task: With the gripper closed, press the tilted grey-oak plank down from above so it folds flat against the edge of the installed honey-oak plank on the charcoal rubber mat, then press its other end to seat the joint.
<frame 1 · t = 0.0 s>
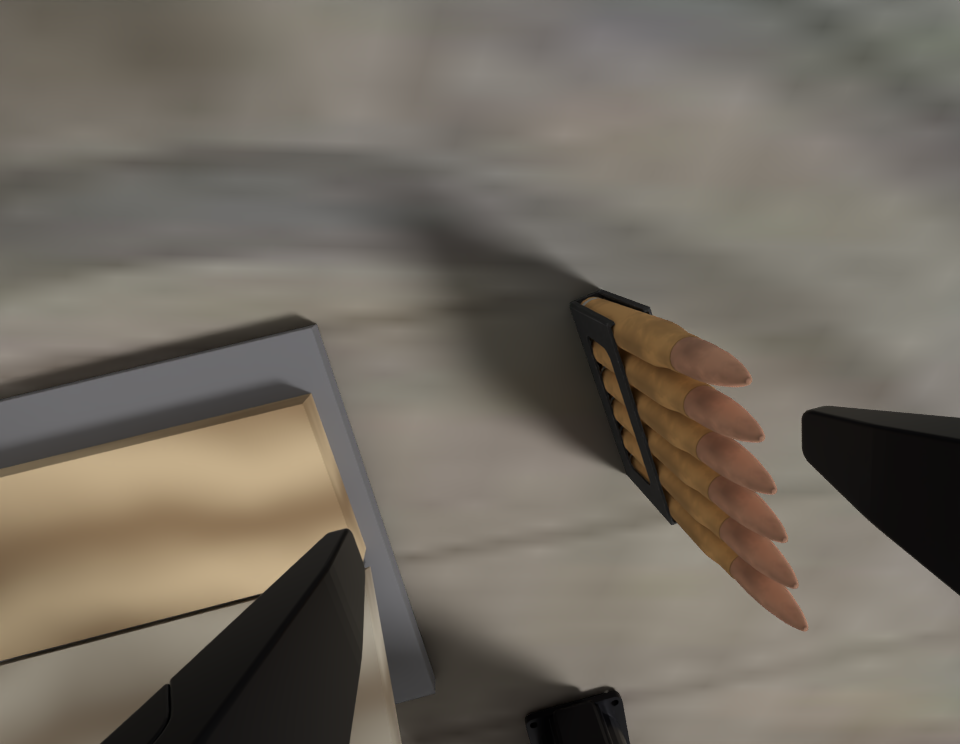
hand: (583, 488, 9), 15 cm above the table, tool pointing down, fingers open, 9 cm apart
ammunition clip: (614, 387, 24), on the table
underlay mat: (186, 575, 25), on the table
loose plank: (182, 717, 22), point 4 cm above the table, hinge at 30.0°
installed plank: (142, 524, 22), resting on underlay mat
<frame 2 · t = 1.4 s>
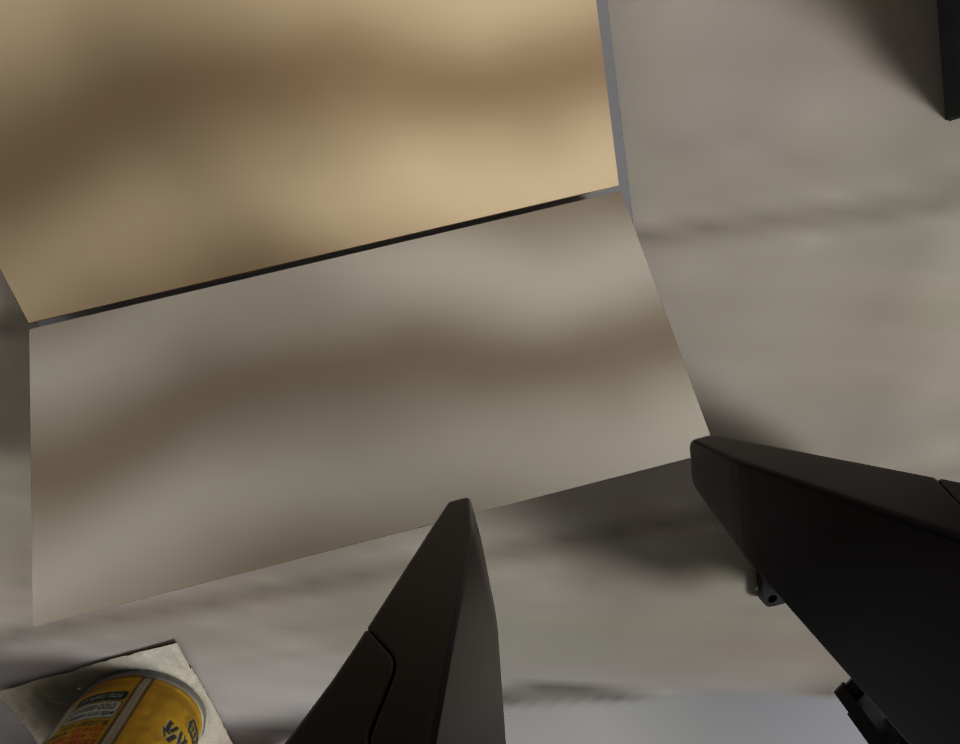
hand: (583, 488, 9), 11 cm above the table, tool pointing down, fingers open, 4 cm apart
condiment: (127, 712, 23), on the table
underlay mat: (340, 238, 17), on the table
loose plank: (362, 391, 15), point 4 cm above the table, hinge at 30.0°
installed plank: (298, 116, 15), resting on underlay mat
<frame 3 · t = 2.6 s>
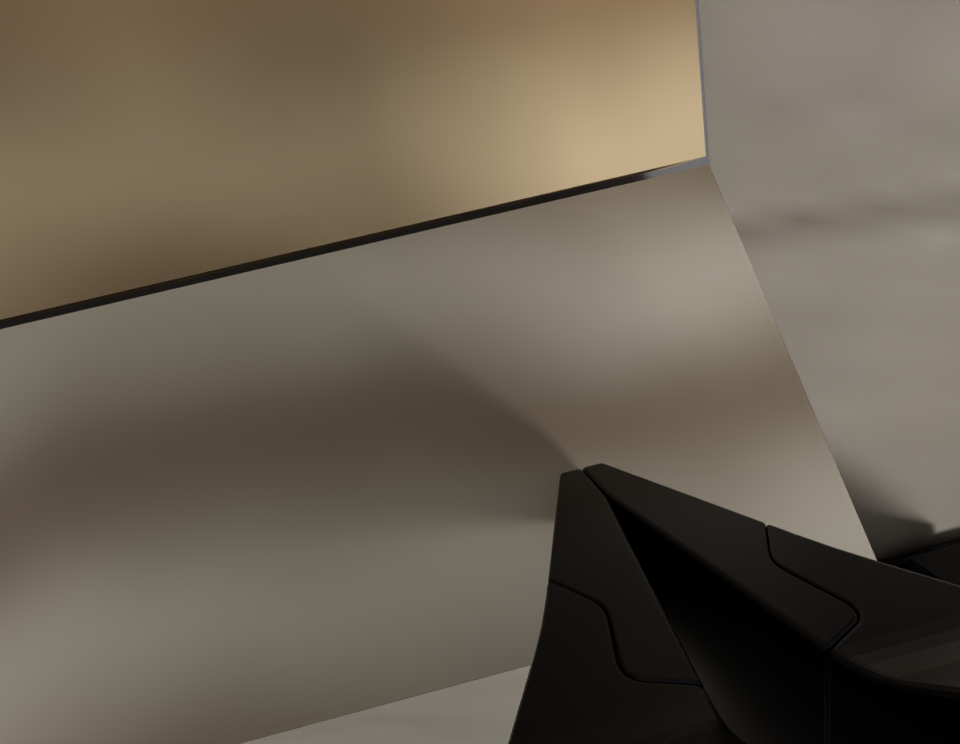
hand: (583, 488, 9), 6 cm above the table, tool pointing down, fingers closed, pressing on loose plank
underlay mat: (304, 234, 12), on the table
loose plank: (327, 463, 10), point 4 cm above the table, hinge at 30.0°, touching gripper
installed plank: (234, 53, 10), resting on underlay mat
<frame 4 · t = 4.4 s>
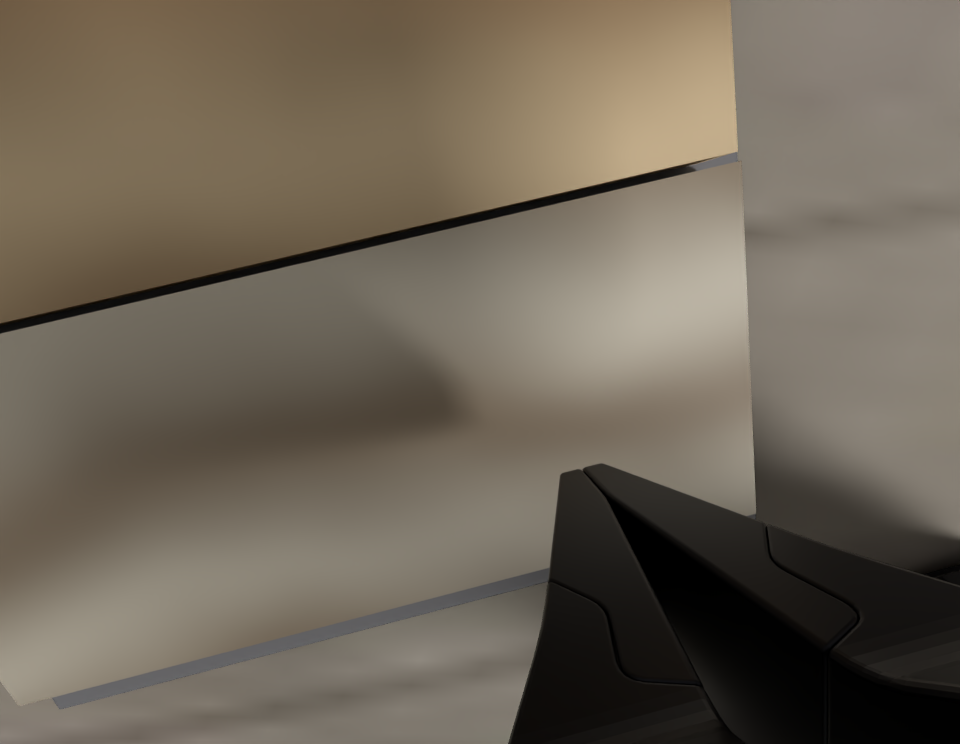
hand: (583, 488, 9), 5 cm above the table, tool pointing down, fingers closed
underlay mat: (302, 236, 12), on the table
loose plank: (351, 445, 11), point 2 cm above the table, hinge at -0.7°, touching underlay mat
installed plank: (226, 40, 9), resting on underlay mat
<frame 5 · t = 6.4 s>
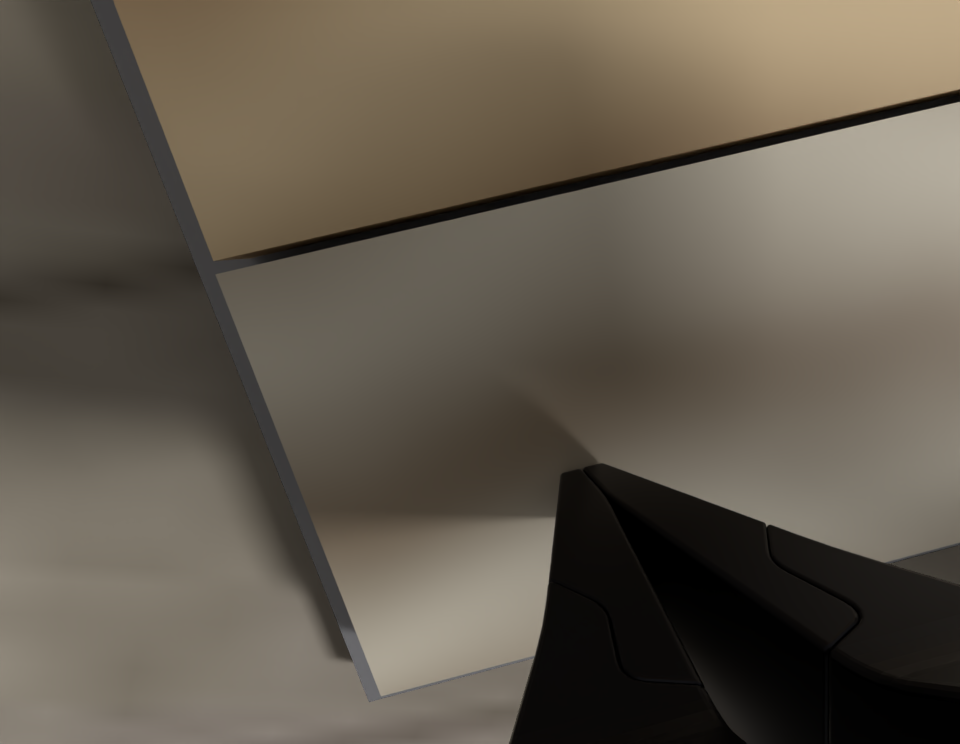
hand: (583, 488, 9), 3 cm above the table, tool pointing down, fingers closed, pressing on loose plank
underlay mat: (729, 124, 10), on the table
loose plank: (799, 377, 9), point 2 cm above the table, hinge at -0.7°, touching gripper, underlay mat
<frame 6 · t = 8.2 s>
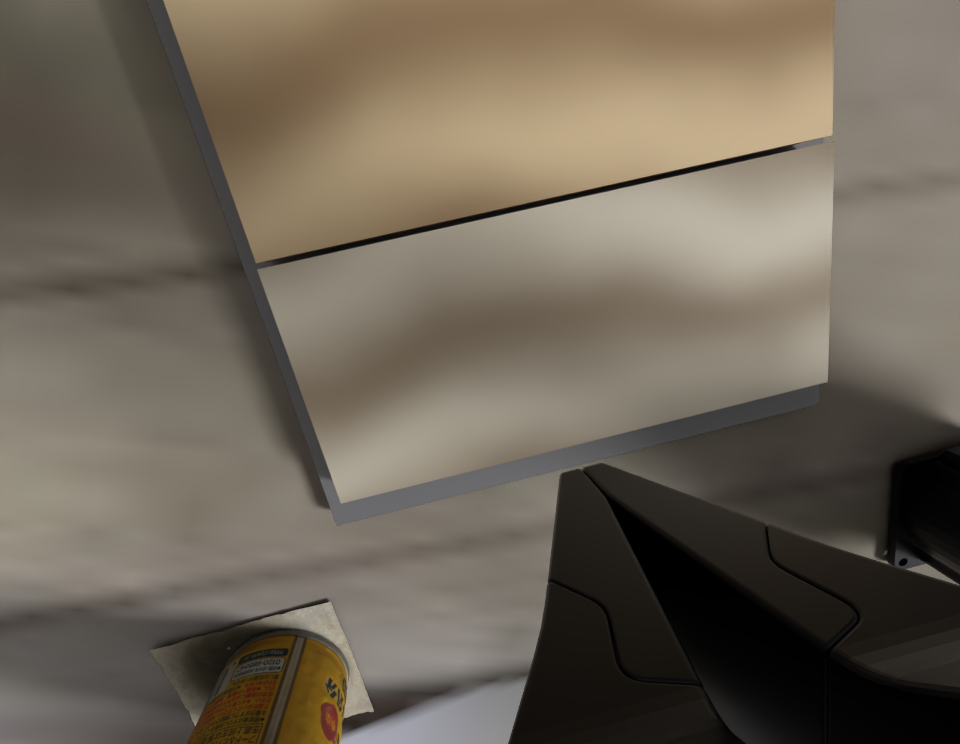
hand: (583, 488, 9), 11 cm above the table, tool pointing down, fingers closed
condiment: (271, 673, 23), on the table
underlay mat: (533, 189, 17), on the table
loose plank: (568, 328, 17), point 2 cm above the table, hinge at -0.7°, touching underlay mat
installed plank: (519, 61, 15), resting on underlay mat
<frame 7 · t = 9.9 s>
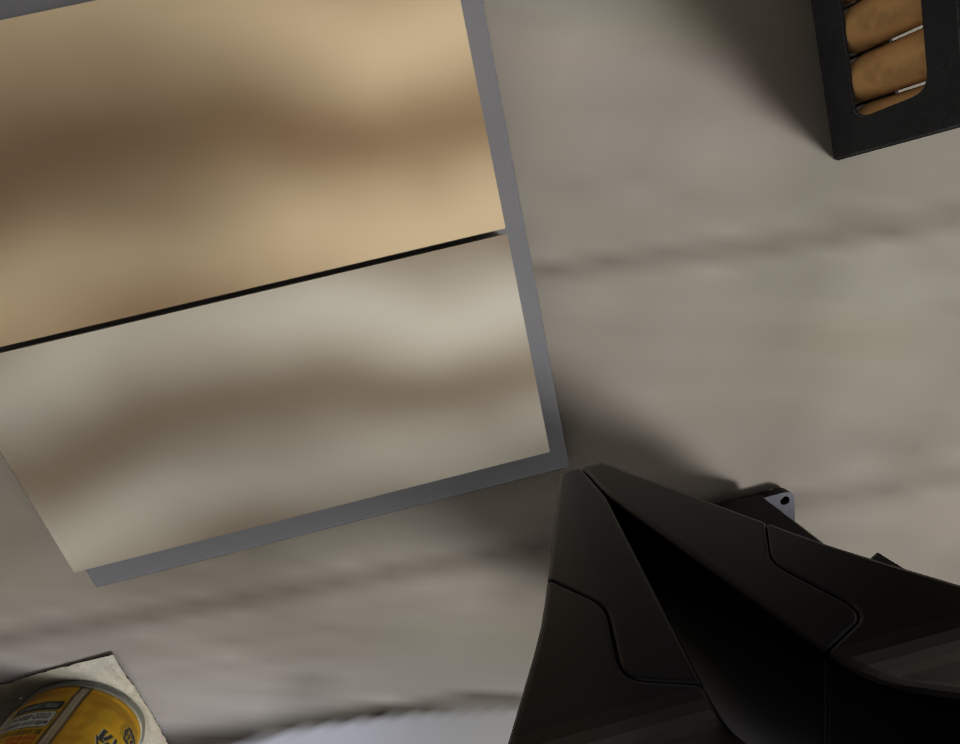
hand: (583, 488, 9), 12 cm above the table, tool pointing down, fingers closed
condiment: (69, 721, 24), on the table
ammunition clip: (831, 17, 18), on the table
underlay mat: (254, 273, 18), on the table
loose plank: (284, 406, 18), point 2 cm above the table, hinge at -0.7°, touching underlay mat
installed plank: (203, 164, 16), resting on underlay mat
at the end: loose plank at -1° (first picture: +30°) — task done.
